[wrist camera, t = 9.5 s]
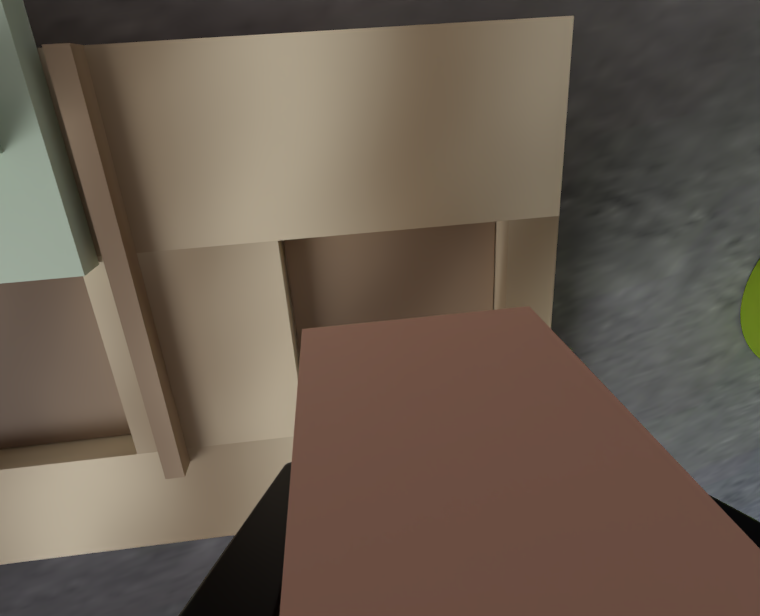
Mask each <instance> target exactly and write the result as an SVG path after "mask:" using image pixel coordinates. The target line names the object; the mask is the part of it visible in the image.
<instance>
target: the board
mask: <svg viewBox="0 0 760 616" xmlns="http://www.w3.org/2000/svg"><path fill="white" fill-rule="evenodd" d="M573 23H574V16H559V17H542V18H525V19H509V20H492V21H476V22H459V23H443V24H426V25H410V26H393V27H376V28H360V29H343V30H327V31H310V32H294V33H277V34H260V35H244V36H227V37H211V38H194V39H178V40H161V41H144V42H128V43H111V44H95V45H79V44H73V43H58V44H41V45H42V48H37V51H38V54H39V57H40V61H41V64H42V68H43V71H44V75H45V78H46V82H47V85H48V89H49V92H50V96H51V99H52V102H53V106H54V109H55V113H56V116H57V120H58V123H59V127H60V130H61V134H62V137H63V141H64V144H65V147H66V151H67V154H68V158H69V161H70V165H71V168H72V172H73V175H74V179H75V182H76V185H77V189H78V192H79V196H80V199H81V203H82V206H83V210H84V213H85V217H86V220H87V224H88V227H89V230H90V234H91V237H92V241H93V244H94V248H95V251H96V255H97V258H98V262H99V265H98V266H97V267H95V268H94V269H93V270H92V271H90V272H89V273H88V274H87V275H85V276H79V277H68V278H57V279H46V280H35V281H24V282H13V283H2V284H0V565H1V564H9V563H17V562H25V561H33V560H41V559H49V558H57V557H65V556H73V555H80V554H88V553H96V552H104V551H112V550H120V549H128V548H136V547H144V546H152V545H159V544H167V543H175V542H183V541H191V540H199V539H207V538H215V537H223V536H231V535H236V533H237V532H238V531H239V529H240V528H241V526H242V525H243V523H244V522H245V521H246V519H247V518H248V516H249V515H250V513H251V512H252V511H253V509H254V508H255V506H256V505H257V503H258V502H259V501H260V499H261V498H262V496H263V495H264V494H265V492H266V491H267V489H268V488H269V486H270V485H271V484H272V482H273V481H274V479H275V478H276V476H277V475H278V474H279V472H280V471H281V469H282V468H283V467H284V465H285V464H287V463H289V462H292V450H293V437H294V425H295V412H296V399H297V387H298V374H299V361H300V349H301V336H302V329H307V328H317V327H327V326H337V325H347V324H357V323H367V322H377V321H387V320H397V319H406V318H416V317H426V316H436V315H446V314H456V313H466V312H476V311H486V310H496V309H506V308H516V307H526V306H530V307H531V308H532V310H533V311H534V312H535V313H536V314H537V315H538V316H539V317H540V318H541V319H542V320H543V321H544V322H545V323H546V324H547V325H548V326H549V327H550V328H551V319H552V306H553V292H554V279H555V265H556V252H557V238H558V225H559V211H560V198H561V184H562V171H563V158H564V144H565V131H566V117H567V104H568V90H569V77H570V63H571V50H572V36H573Z"/></svg>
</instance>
